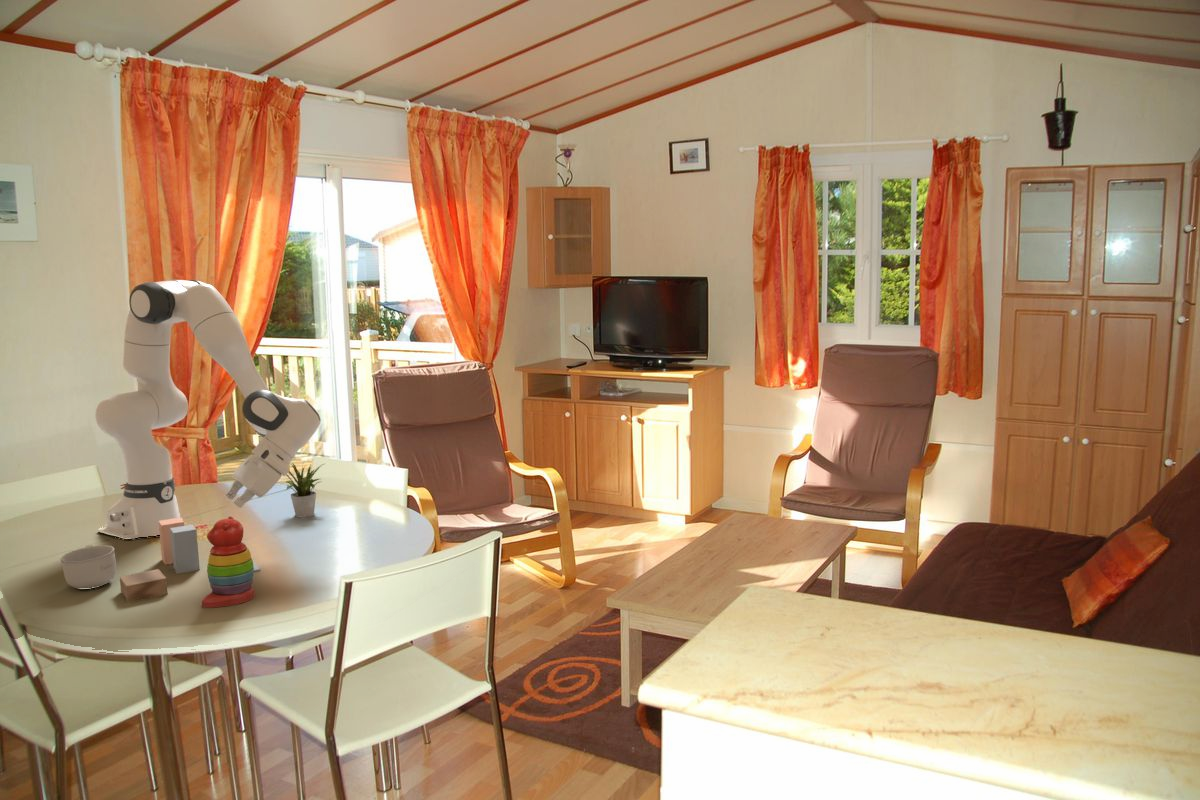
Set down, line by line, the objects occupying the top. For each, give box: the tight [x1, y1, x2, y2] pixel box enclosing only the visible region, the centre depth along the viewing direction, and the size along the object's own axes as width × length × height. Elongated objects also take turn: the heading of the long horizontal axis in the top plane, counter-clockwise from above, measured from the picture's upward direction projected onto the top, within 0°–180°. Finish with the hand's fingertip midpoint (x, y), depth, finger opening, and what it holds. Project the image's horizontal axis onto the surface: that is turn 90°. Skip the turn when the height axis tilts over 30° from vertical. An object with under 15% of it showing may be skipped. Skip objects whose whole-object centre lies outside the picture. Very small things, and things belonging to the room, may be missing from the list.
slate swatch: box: [253, 562, 261, 573], centre depth 221 cm, size 6×6×1 cm
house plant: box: [280, 459, 326, 518], centre depth 268 cm, size 14×14×16 cm
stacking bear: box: [201, 515, 256, 608], centre depth 201 cm, size 11×10×18 cm
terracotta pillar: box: [158, 517, 185, 565], centre depth 229 cm, size 5×5×10 cm
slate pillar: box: [170, 524, 201, 575], centre depth 222 cm, size 5×5×10 cm
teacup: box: [60, 544, 117, 589], centre depth 213 cm, size 14×11×8 cm
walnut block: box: [119, 568, 168, 603], centre depth 206 cm, size 8×8×4 cm
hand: (232, 501), depth 227 cm, fingers open, 8 cm apart
